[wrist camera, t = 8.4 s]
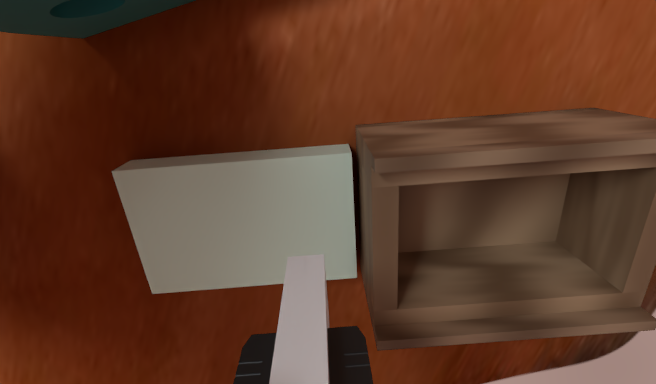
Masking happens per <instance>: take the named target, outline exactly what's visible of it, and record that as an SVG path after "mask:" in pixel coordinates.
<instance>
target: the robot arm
mask: <svg viewBox="0 0 656 384" xmlns="http://www.w3.org/2000/svg"><path fill="white" fill-rule="evenodd" d="M233 384H373V380H372V374H371V368H370V363H369V357H368V351H367V345H366V339H365V337H364V335H363V334H362V332H361V331H360V330H359V328H358V327H357V326H350V327H337V328H329V310H328V297H327V285H326V273H325V261H324V254H320V255H306V256H293V257H288V259H287V266H286V272H285V279H284V286H283V293H282V300H281V306H280V313H279V320H278V327H277V333H269V334H256V335H251V337H250V338H249V340H248V341H247V342H246V344H245V345H244V346H243V348H242V352H241V356H240V360H239V365H238V368H237V371H236V378H235V379H234V383H233Z"/></svg>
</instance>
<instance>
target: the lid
mask: <svg viewBox="0 0 656 384" xmlns="http://www.w3.org/2000/svg"><path fill="white" fill-rule="evenodd" d="M111 172H112V175H113V178H114V181H115V184H116V187H117V190H118V193H119V196H120V199H121V202H122V205H123V208H124V211H125V214H126V217H127V220H128V223H129V226H130V229H131V232H132V235H133V238H134V241H135V244H136V247H137V250H138V253H139V256H140V259H141V262H142V265H143V268H144V271H145V274H146V277H147V280H148V283H149V286H150V289H151V292H152V294H159V293H172V292H184V291H197V290H210V289H222V288H235V287H248V286H260V285H273V284H284V279H285V272H286V266H287V259H288V257H293V256H306V255H320V254H324V261H325V273H326V280H336V279H348V278H357V264H356V241H355V217H354V194H353V171H352V152H351V150H350V147H349V144H340V145H326V146H313V147H300V148H286V149H273V150H260V151H246V152H233V153H220V154H206V155H193V156H180V157H166V158H153V159H140V160H130V161H129V162H127V163H125V164H123V165H122V166H120V167H118V168H116V169H115V170H113V171H111Z"/></svg>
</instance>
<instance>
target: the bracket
mask: <svg viewBox="0 0 656 384" xmlns="http://www.w3.org/2000/svg"><path fill="white" fill-rule="evenodd" d="M193 1H196V0H0V31H1V32H8V33H18V34H31V35H44V36H57V37H69V38H82V39H83V38H86V37H89V36H92V35H95V34H98V33H101V32H104V31H107V30H110V29H113V28H116V27H119V26H122V25H125V24H128V23H131V22H133V21H136V20H139V19H142V18H145V17H148V16H151V15H154V14H157V13H160V12H163V11H166V10H169V9H172V8H175V7H178V6H181V5H184V4H187V3H190V2H193Z"/></svg>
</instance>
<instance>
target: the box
mask: <svg viewBox="0 0 656 384" xmlns="http://www.w3.org/2000/svg"><path fill="white" fill-rule="evenodd" d="M356 151H357V179H358V208H359V236H360V264H361V273H362V278H363V283H364V287H365V292H366V297H367V302H368V307H369V312H370V317H371V322H372V326H373V331H374V336H375V341H376V346H377V351H378V350H392V349H405V348H419V347H432V346H446V345H459V344H473V343H486V342H500V341H513V340H526V339H540V338H553V337H567V336H580V335H594V334H607V333H621V332H634V331H648V330H655V328H656V318H654V317H653V316H652V315H651V314H649V313H648V312H647V311H645V310H644V309H643V308H641V307H640V306H641V304H642V301H643V298H644V295H645V293H646V290H647V287H648V284H649V281H650V279H651V276H652V273H653V270H654V267H655V265H656V119H652V118H647V117H642V116H636V115H631V114H625V113H620V112H614V111H609V110H603V109H598V108H585V109H571V110H557V111H543V112H530V113H516V114H502V115H488V116H474V117H460V118H447V119H433V120H419V121H405V122H391V123H377V124H364V125H356Z"/></svg>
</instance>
